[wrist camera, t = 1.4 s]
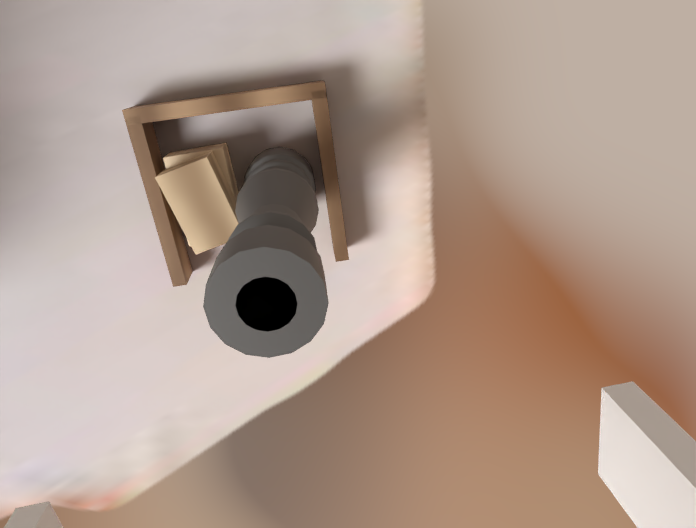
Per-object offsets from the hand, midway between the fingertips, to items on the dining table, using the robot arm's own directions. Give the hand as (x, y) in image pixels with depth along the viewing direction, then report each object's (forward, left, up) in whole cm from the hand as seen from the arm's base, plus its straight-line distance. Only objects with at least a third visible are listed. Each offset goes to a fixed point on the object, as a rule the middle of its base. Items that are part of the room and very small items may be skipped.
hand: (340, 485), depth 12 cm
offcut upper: (-9, -1, -34) cm, 35 cm away
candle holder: (-2, -1, -37) cm, 37 cm away
